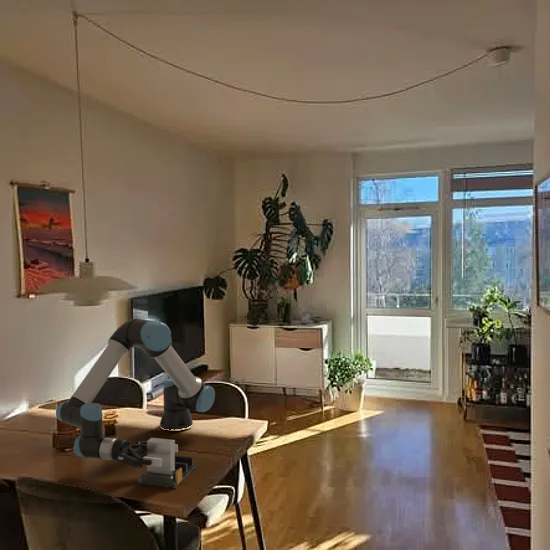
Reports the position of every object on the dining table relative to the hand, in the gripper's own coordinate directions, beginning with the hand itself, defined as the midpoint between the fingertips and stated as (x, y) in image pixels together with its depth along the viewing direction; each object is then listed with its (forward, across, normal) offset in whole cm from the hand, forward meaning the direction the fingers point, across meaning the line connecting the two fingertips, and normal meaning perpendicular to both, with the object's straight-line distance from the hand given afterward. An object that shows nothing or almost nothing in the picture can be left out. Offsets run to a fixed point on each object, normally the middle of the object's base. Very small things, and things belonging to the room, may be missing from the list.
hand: (169, 455), depth 186 cm
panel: (-3, 0, -9) cm, 10 cm away
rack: (-3, -6, -10) cm, 12 cm away
